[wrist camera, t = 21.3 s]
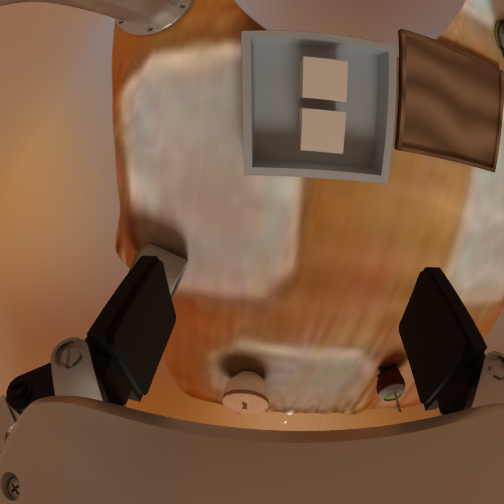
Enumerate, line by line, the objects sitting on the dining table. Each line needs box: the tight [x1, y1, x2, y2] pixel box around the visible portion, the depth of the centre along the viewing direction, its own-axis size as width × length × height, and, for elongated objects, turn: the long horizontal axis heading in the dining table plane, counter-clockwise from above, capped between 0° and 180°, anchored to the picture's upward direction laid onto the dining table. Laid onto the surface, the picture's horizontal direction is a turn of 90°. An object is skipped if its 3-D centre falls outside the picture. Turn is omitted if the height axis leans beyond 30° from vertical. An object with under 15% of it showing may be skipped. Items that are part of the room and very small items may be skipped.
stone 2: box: [298, 107, 346, 154], centre depth 30 cm, size 5×5×6 cm
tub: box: [241, 30, 397, 184], centre depth 30 cm, size 18×18×5 cm
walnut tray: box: [395, 29, 504, 172], centre depth 27 cm, size 18×20×1 cm
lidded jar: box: [222, 371, 269, 413], centre depth 60 cm, size 11×11×9 cm
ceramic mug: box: [129, 244, 188, 299], centre depth 45 cm, size 11×8×8 cm
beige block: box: [299, 56, 348, 102], centre depth 27 cm, size 5×5×6 cm
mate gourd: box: [377, 363, 405, 412], centre depth 52 cm, size 8×8×15 cm
